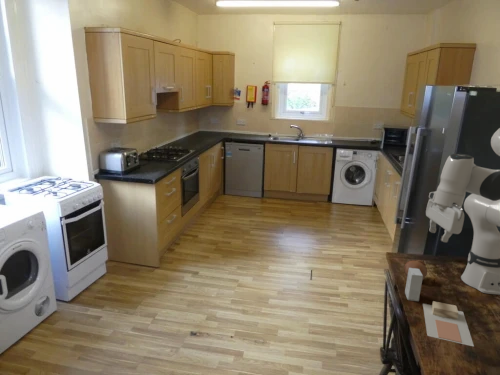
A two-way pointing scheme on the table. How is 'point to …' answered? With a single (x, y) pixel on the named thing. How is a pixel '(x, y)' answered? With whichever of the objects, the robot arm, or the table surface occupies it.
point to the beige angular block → (444, 310)
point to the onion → (418, 265)
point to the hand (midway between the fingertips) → (437, 236)
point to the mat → (447, 327)
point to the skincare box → (413, 284)
